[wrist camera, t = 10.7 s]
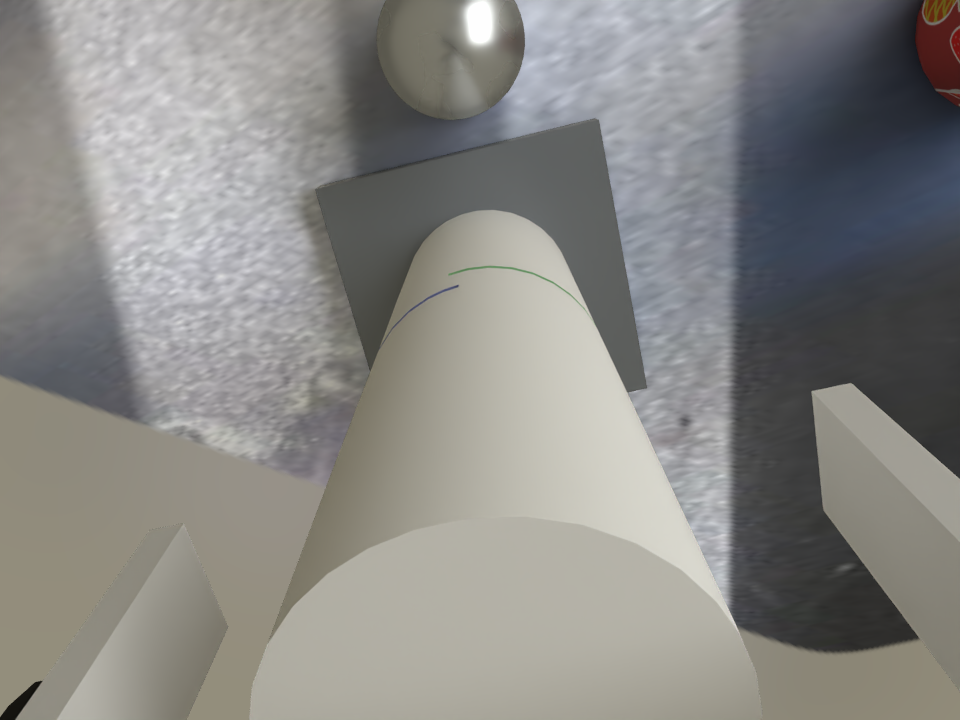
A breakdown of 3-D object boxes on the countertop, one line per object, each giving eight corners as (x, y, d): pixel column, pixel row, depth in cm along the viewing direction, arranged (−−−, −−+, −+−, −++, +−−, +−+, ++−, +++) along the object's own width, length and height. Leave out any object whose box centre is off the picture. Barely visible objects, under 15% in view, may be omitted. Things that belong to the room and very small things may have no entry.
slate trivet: (320, 185, 34) (315, 189, 33) (594, 118, 34) (598, 119, 32) (394, 432, 38) (392, 443, 37) (641, 378, 37) (647, 387, 36)
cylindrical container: (375, 262, 34) (143, 663, 11) (520, 178, 33) (619, 420, 10) (459, 396, 36) (419, 980, 13) (599, 321, 35) (840, 813, 12)
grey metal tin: (380, -2, 32) (358, -19, 26) (501, -34, 32) (506, -58, 26) (412, 125, 34) (398, 134, 28) (528, 96, 33) (538, 100, 28)
